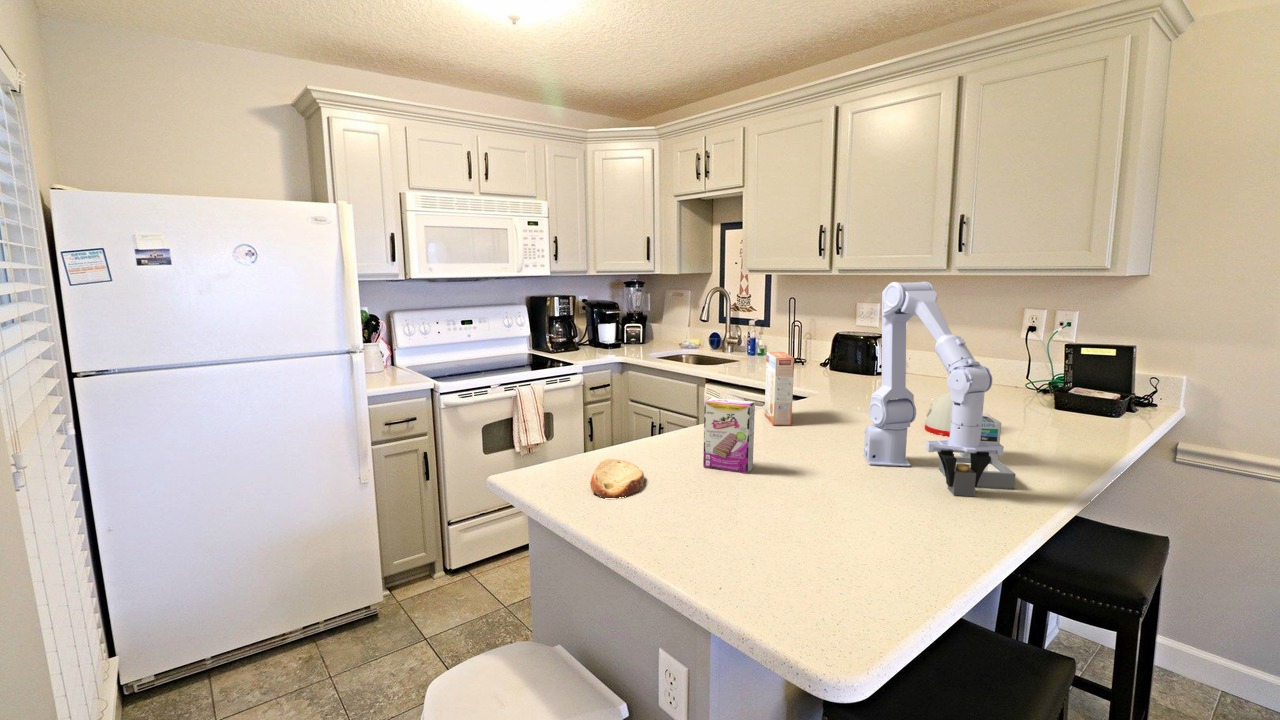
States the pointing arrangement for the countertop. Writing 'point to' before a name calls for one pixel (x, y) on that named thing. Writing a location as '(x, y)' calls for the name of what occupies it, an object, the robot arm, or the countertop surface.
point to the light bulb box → (989, 433)
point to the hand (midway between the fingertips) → (961, 485)
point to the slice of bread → (616, 479)
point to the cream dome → (940, 416)
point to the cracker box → (779, 388)
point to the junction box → (990, 474)
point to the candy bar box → (729, 434)
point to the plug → (963, 480)
